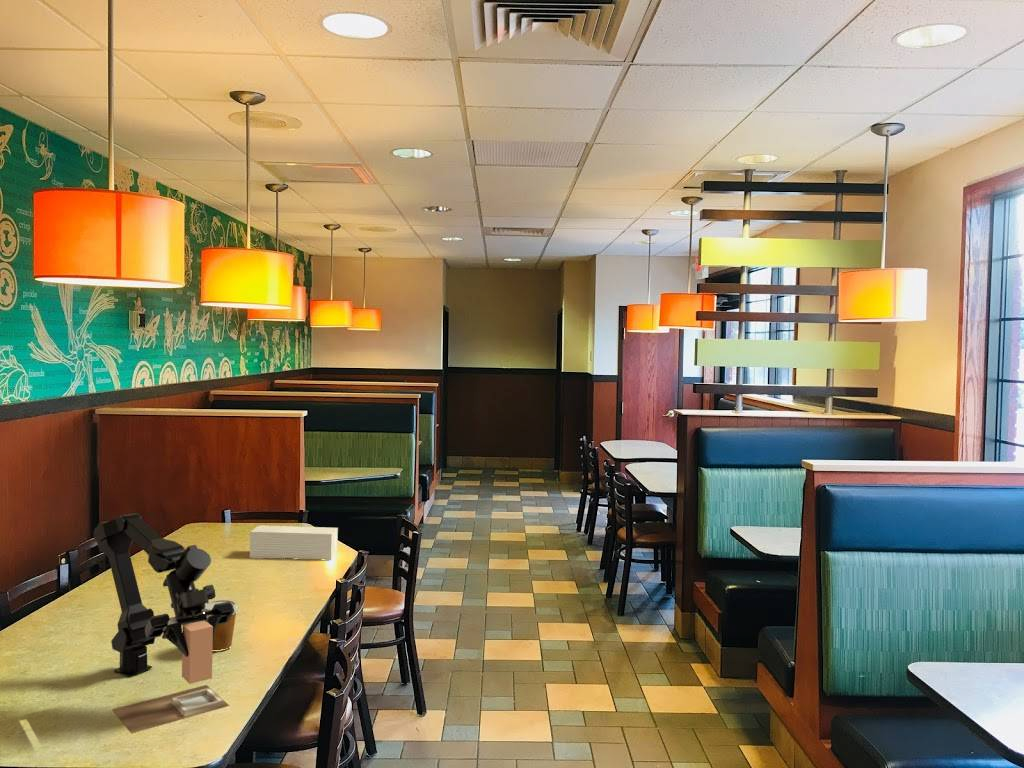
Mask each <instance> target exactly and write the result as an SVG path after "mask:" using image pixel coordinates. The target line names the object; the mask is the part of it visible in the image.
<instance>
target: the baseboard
mask: <svg viewBox="0 0 1024 768" xmlns="http://www.w3.org/2000/svg"><path fill="white" fill-rule="evenodd" d="M226 707H230V704H229V703H227V702H226V701H225V700H224V699H223V698H222V697H221V696H219V694H217V693H216V692H215V691H214V690H213V689H212V688H211V687H210V686H208V685H207V684H205V685H201V686H197V687H194V688H193V687H192V688H189V689H186V690H185V689H184V690H182V691H179V692H174V693H170V694H166V695H162V696H158V697H155V698H151V699H147V700H143V701H140V702H135V703H132V704H127V705H124V706H121V707H117V708H113V709H112V711H113V712H114V714H115V715H116V716H117V717H118V720H119V719H120V721H121V722H122V724H123V725H124V726H125V728H127V730H128V731H129V732H130V733H131V734H135V733H138V732H142V731H145V730H149V729H152V728H156V727H159V726H163V725H166V724H169V723H170V724H171V723H173V722H177V721H181V720H185V719H187V718H188V719H189V718H191V717H195V716H198V715H201V714H205V713H208V712H212V711H216V710H219V709H223V708H226Z"/></svg>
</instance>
